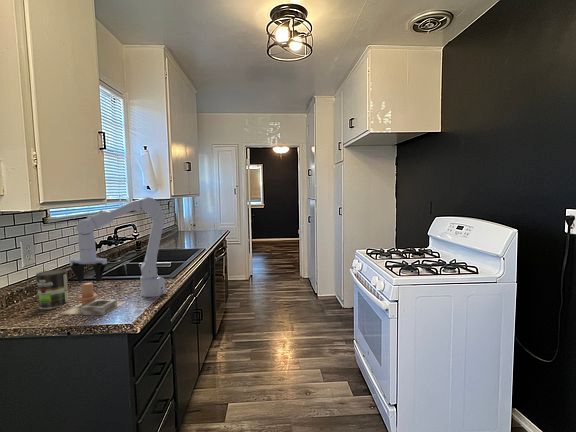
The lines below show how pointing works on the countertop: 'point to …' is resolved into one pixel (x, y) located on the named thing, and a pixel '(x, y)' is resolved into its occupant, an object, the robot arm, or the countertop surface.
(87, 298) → the end cover
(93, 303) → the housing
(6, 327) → the countertop surface
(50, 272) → the coffee can
